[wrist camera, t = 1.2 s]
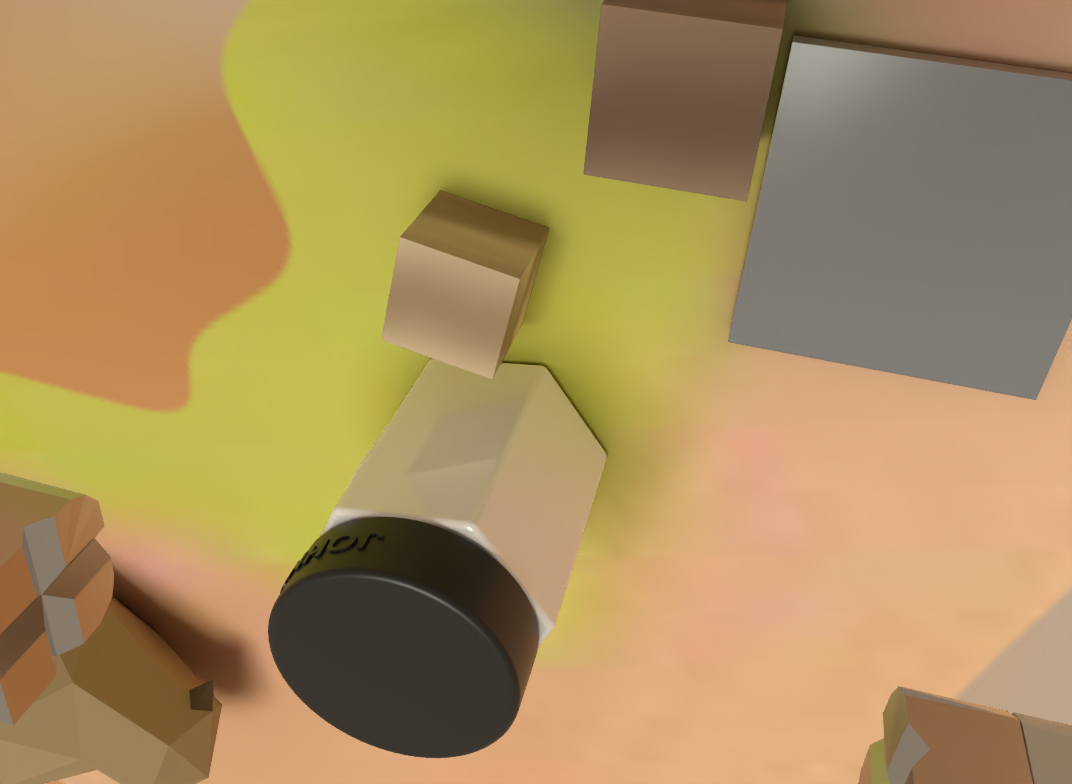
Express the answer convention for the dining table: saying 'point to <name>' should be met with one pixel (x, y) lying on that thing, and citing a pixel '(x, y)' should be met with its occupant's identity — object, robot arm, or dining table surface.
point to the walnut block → (682, 92)
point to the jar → (442, 564)
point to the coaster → (914, 217)
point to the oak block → (462, 283)
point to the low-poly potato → (116, 713)
